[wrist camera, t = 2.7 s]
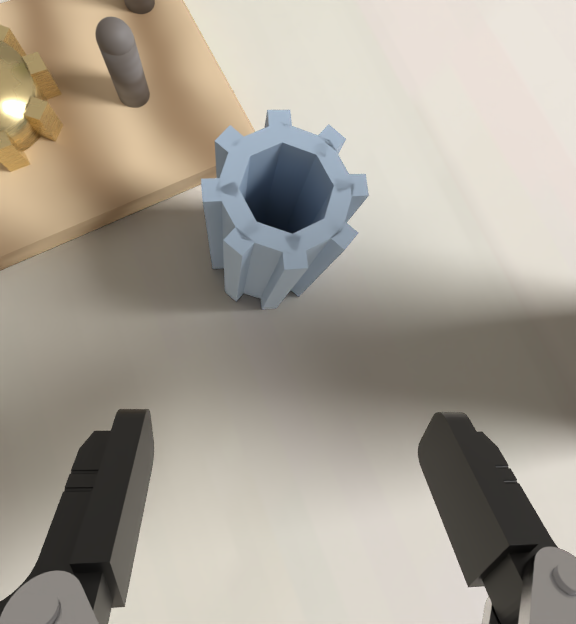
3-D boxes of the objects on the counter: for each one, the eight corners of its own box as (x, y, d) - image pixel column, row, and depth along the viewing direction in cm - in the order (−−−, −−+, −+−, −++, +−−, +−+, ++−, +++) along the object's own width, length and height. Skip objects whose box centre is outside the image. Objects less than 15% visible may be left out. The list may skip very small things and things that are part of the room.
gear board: (162, -22, 27) (142, -141, 20) (260, 158, 26) (271, 91, 20) (-127, 68, 23) (-258, -43, 17) (-23, 280, 22) (-120, 245, 16)
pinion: (283, 195, 26) (318, 89, 16) (329, 280, 25) (394, 224, 16) (195, 236, 25) (173, 147, 15) (242, 325, 24) (253, 295, 14)
